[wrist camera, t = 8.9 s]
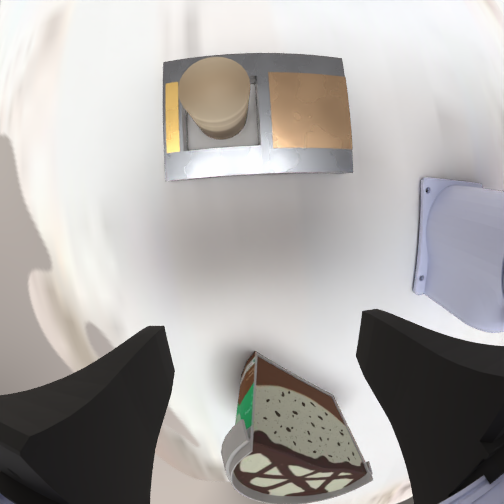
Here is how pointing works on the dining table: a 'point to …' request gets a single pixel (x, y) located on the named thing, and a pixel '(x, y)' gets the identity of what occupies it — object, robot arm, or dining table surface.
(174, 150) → the plate
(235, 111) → the peg
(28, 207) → the dining table surface
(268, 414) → the food container
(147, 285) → the dining table surface
